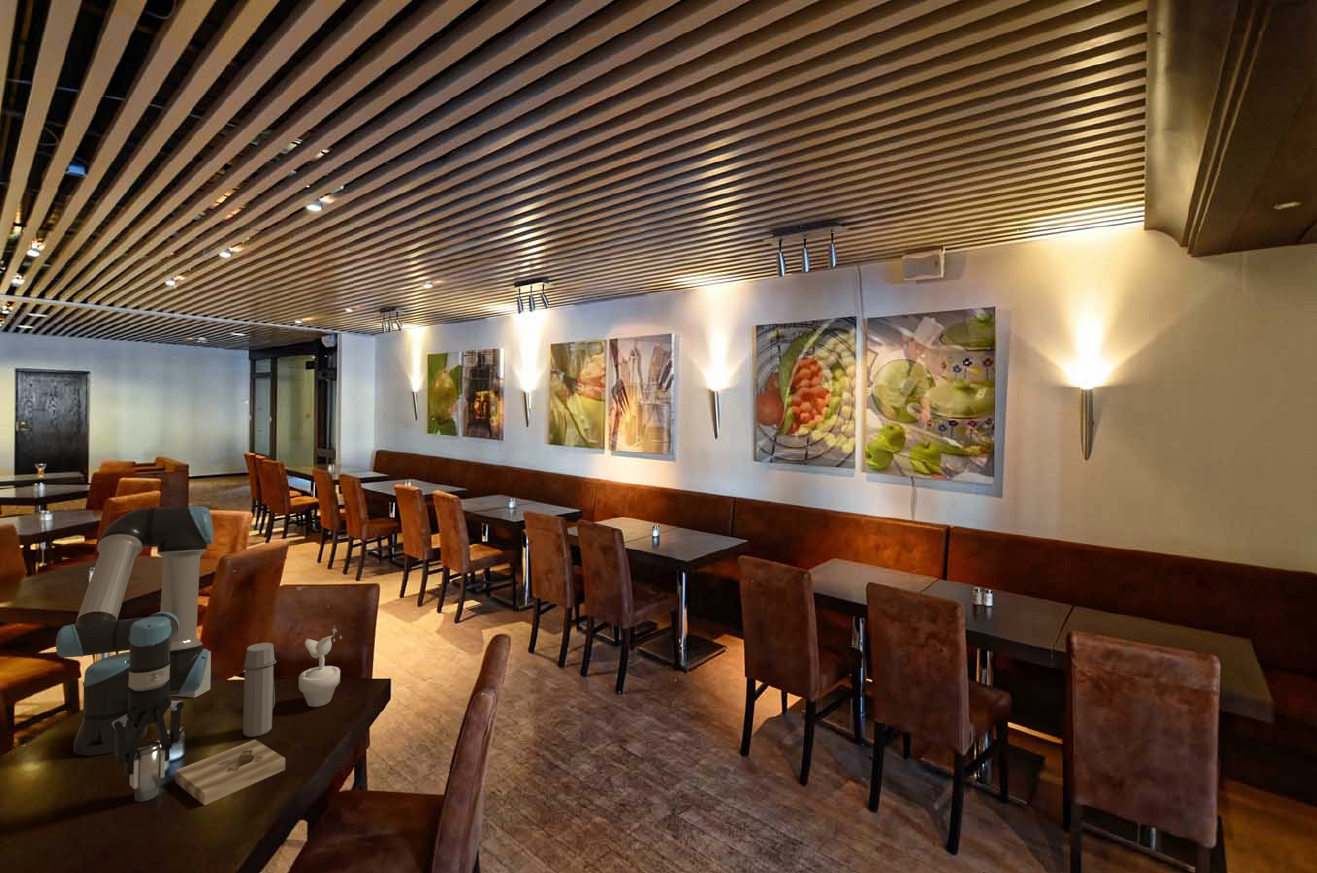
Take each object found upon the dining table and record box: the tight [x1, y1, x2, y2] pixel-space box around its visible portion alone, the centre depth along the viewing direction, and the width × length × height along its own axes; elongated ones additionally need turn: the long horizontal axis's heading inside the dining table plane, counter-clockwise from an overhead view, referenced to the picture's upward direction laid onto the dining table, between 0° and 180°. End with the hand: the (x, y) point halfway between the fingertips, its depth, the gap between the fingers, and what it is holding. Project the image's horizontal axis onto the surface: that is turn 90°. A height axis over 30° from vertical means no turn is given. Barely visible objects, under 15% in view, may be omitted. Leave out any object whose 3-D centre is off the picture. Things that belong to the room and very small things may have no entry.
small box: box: [172, 650, 212, 699], centre depth 196 cm, size 8×6×13 cm
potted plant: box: [298, 624, 343, 708], centre depth 193 cm, size 13×12×25 cm
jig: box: [174, 739, 286, 806], centre depth 152 cm, size 16×18×3 cm
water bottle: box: [242, 642, 277, 738], centre depth 174 cm, size 9×8×25 cm
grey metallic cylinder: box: [134, 741, 161, 802], centre depth 143 cm, size 4×4×12 cm
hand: (147, 780), depth 143 cm, fingers closed on grey metallic cylinder, 4 cm apart
